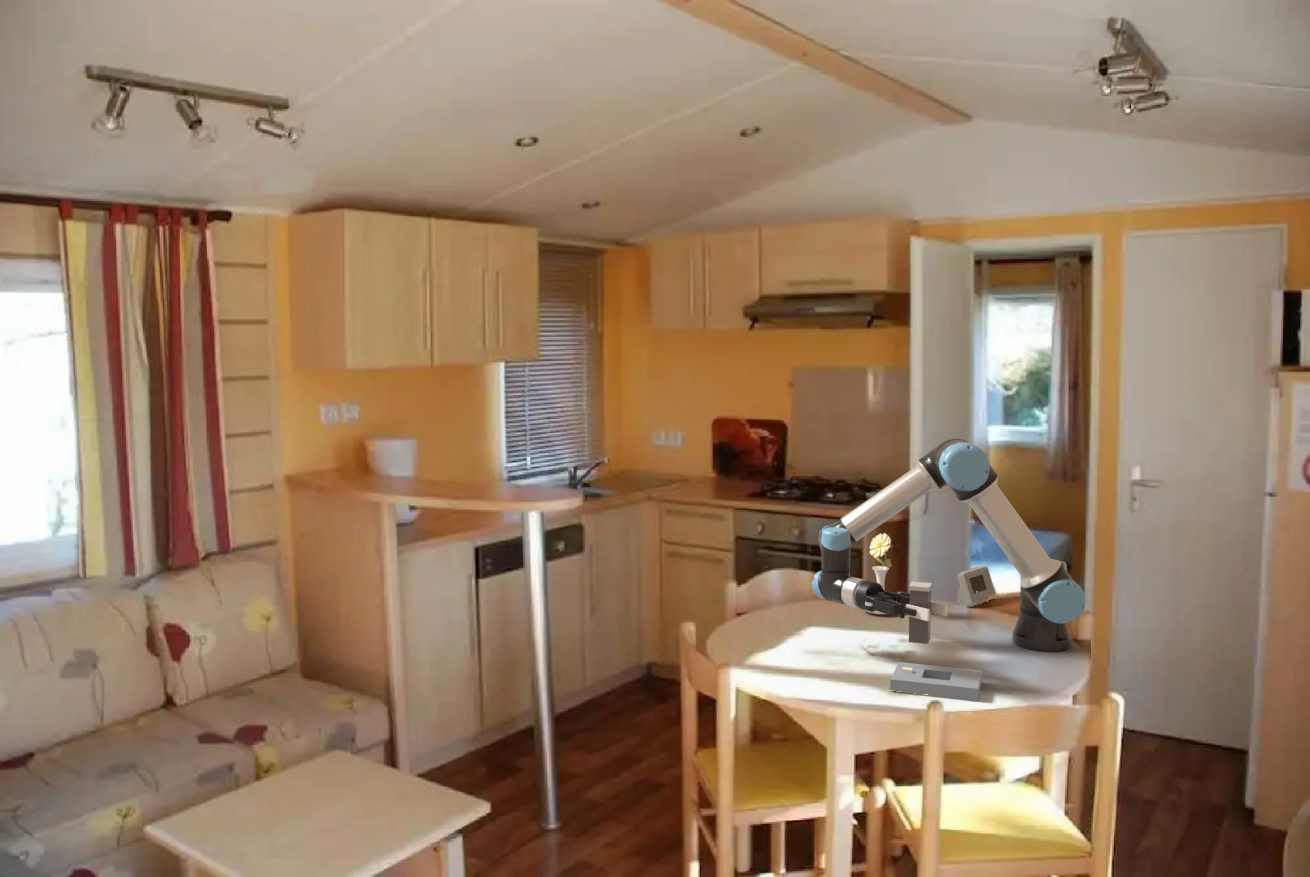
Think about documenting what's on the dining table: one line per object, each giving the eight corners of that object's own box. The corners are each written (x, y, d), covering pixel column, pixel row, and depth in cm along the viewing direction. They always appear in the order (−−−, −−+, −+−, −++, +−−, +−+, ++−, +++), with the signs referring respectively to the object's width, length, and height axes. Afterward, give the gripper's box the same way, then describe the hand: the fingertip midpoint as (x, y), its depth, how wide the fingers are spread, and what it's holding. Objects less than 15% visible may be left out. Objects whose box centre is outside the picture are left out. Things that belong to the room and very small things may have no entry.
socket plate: (981, 682, 260) (982, 667, 260) (977, 701, 247) (978, 685, 247) (898, 673, 267) (898, 659, 267) (890, 691, 254) (890, 676, 254)
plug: (930, 639, 263) (932, 583, 262) (928, 644, 259) (929, 587, 257) (911, 637, 265) (912, 581, 264) (908, 642, 261) (909, 586, 259)
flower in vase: (856, 608, 330) (857, 528, 327) (892, 607, 331) (893, 527, 329) (869, 619, 317) (870, 536, 314) (906, 618, 318) (908, 535, 316)
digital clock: (968, 609, 328) (969, 575, 327) (946, 603, 336) (947, 569, 335) (1004, 602, 337) (1005, 568, 336) (981, 596, 344) (982, 563, 343)
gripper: (887, 602, 281) (961, 621, 263) (838, 615, 270) (911, 635, 252) (888, 574, 281) (962, 591, 262) (838, 586, 269) (912, 604, 251)
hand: (937, 612), depth 257 cm, fingers closed on plug, 6 cm apart
